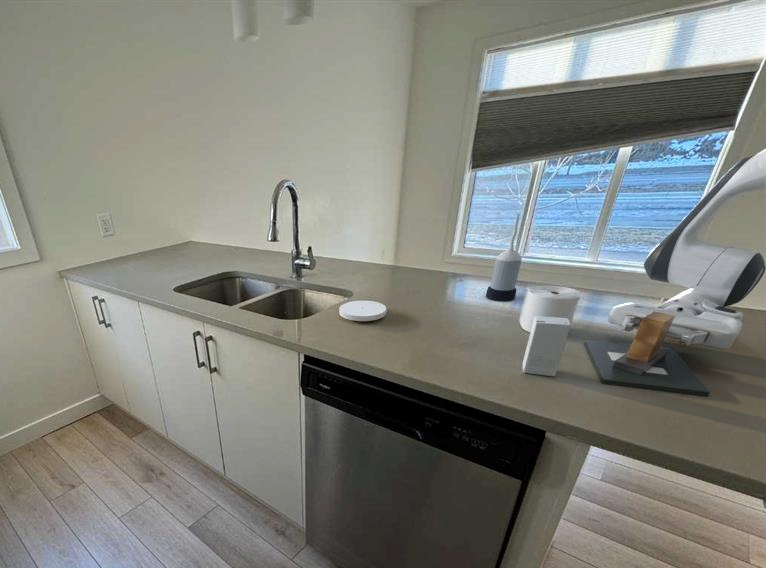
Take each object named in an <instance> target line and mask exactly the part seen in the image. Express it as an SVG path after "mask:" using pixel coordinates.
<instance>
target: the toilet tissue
mask: <svg viewBox="0 0 766 568" xmlns="http://www.w3.org/2000/svg"><path fill="white" fill-rule="evenodd" d="M529 287H530V284H528V285H527V287H526V292H525V296H524V300H523V303H522V308H521V312H520V315H519V325H520V328H521V329H522V330H524V331H526V332H528V333H529V334H530V333H531V329H532V324H533V321H534V317H535V316H541V317H556V318H568V319H569V322H570V324H571V325H572V323H573V320H574V316H575V313H576V311H577V308H578V305H579V301H580V299H581V295H582V294H581V292H580V291H578V290H577V289H574V288H570V287H567V286H559V285H558V286H557V285H539V286H534V287H531V288H529Z"/></svg>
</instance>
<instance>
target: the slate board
mask: <svg viewBox="0 0 766 568" xmlns="http://www.w3.org/2000/svg"><path fill="white" fill-rule="evenodd" d="M583 345H584V347H585V350H586V351H587V354H588V356H589V359H590V361H591V363H592V364H593V368H594V369H595V371H596V374H597V376H598V379H599V380H600V383H601V384H604V385H612V386H621V387H627V388H628V387H630V388H637V389H645V390H654V391H660V392H669V393H678V394H684V395H685V394H686V395H693V396H700V397H701V396H702V397H708V396H709V395H710V393H711V391H710V390H709V389H708V387H706V385H705V384H704V383H703V382H702V381H701V379H700V378H699V377H698V376H697V375H696V374H695V372H693V370H692V369H691V368H690V366H688V364H687V363H686V362H685V361H684V360H683V358H682V357H681V356H680V354H678V353H677V352H676V350H675V349H674V348H673V347H665V346H661V348H660V350H663V351H667V352H668V353H667V355H666V357H665V358H664V359H663V360H662V361H660V362H659V363H657V364H656V365H655V366H653V367H652V368H651V369H649V370H648V371H647V372H645V373H644V374H642V375H638V374H635V373H631V372H628V371H624V370H621V369H618V368H614V367H612V366H613V363H614V361H615V360H616V359H618V358H620V357H621V356H623V355H624V354H626V353H627V352H629V349H630V347H631V345H632V343H620V342H611V341H599V340H587V339H586V340H584V342H583Z"/></svg>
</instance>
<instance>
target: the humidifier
mask: <svg viewBox="0 0 766 568" xmlns="http://www.w3.org/2000/svg"><path fill="white" fill-rule="evenodd" d="M520 215H521V213H516V216H515V221H514V226H513V233H512V235H511V238H510V241H509V247H508V249H507V250H504V251H503V252H501V253H499V255H497V257H496V259H495V263H494V268H493V272H492V276H491V281H490V285H488V287H487V289H486V292H485V297H486V299H488V300H490V301H493V302H503V303H504V302H511V301H514V300H515V299H516V295H517V288H516V284H517V281H518V277H519V272H520V268H521V265H522V256H521V254H520V253H519V252H518V251H517V250H518V248H519V246H517V247H516V249H514V245H515V244H514V243H515V238H516V236H517V234H518V225H519V221H520ZM525 217H526V216H524V218H523V221H522V226H521V227H520V230H522V229H523V226H524V222H525ZM520 233H521V234H520V236H519V239H518V243H517V245H519V244H520V240H521V238H522V235H523V233H522V232H520Z"/></svg>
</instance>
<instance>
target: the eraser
mask: <svg viewBox="0 0 766 568" xmlns="http://www.w3.org/2000/svg"><path fill="white" fill-rule="evenodd" d="M674 318H675V315H670V314H665V313H660V312H655V311H653V312H651V313H650V314H648V315H646V316H645V317H643V319H642V321H641V324H640V326H639V328H638V330H637V331H636V333H635V335H634V338H633V340H632V343H631V344H632V345H631V347H630V349H629V352H627V353H626V354H624V355H623V356H621V357H620V358H618V359H616V360H615V361H614V363H613V366H612V367H614V368H618V369H621V370H624V371H628V372H631V373H635V374H638V375H642V374H644V373H645V372H647V371H648V370H649V369H651V368H652V367H653V366H655V365H656V364H657V363H659V362H660V361H662V360H663V359H664V358H665V357H666V355H667V353H668V352H667V351H663V350H660V348H661V347H662V345H663V343H664V341H665V339H666V337H667V336H666V335H667V333H668V330H669V328H670V326H671V324H672V322H673V320H674Z"/></svg>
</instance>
